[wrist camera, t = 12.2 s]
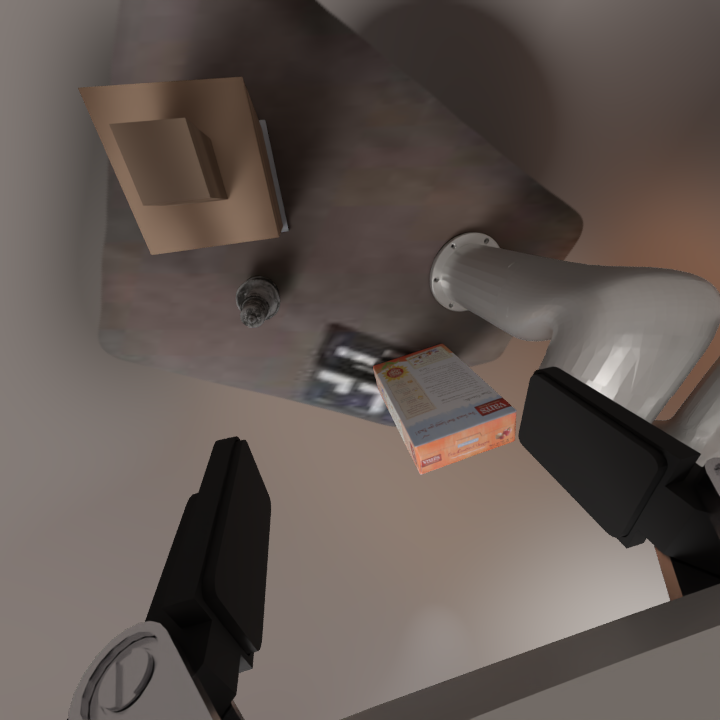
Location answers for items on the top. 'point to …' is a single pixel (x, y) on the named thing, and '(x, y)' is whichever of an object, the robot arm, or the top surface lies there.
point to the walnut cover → (188, 161)
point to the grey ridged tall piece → (257, 301)
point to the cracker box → (443, 407)
